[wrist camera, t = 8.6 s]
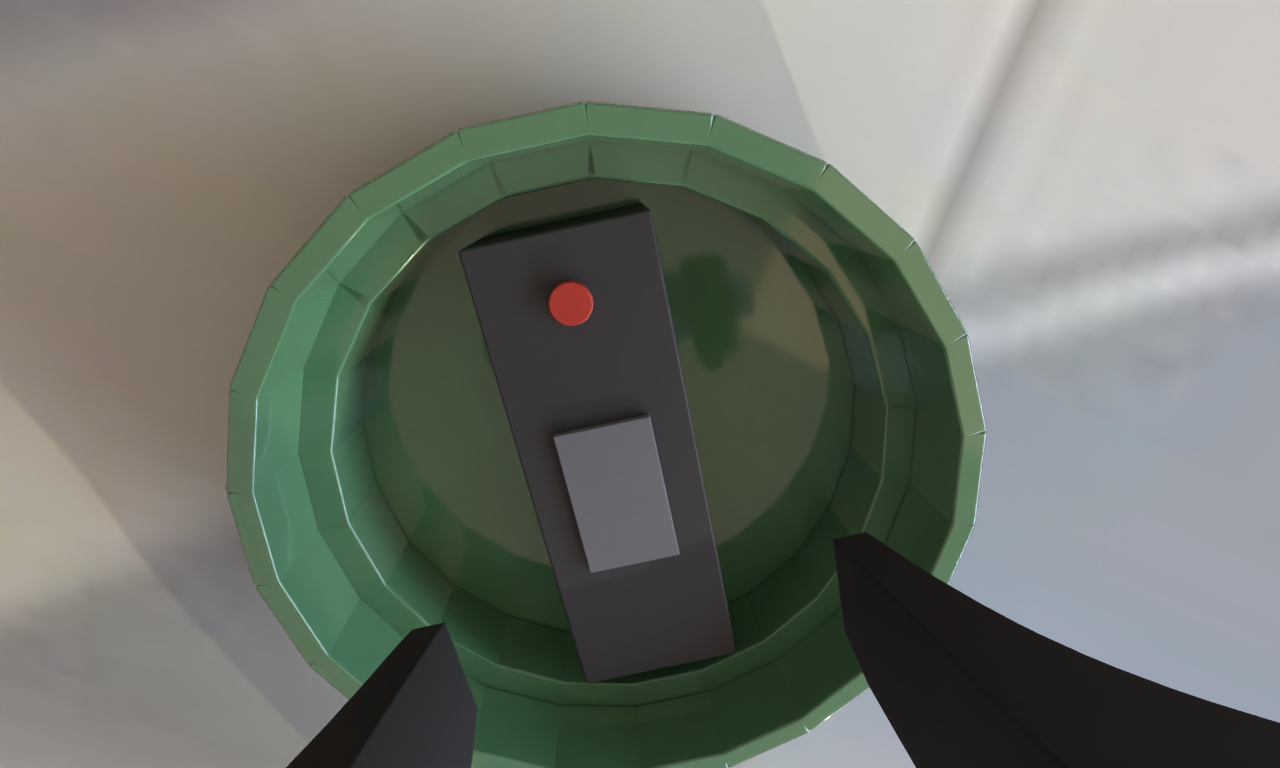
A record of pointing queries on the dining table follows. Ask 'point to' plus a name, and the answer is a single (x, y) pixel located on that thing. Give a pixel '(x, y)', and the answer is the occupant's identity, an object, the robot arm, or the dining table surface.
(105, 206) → the dining table surface
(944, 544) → the bowl
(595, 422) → the remote
